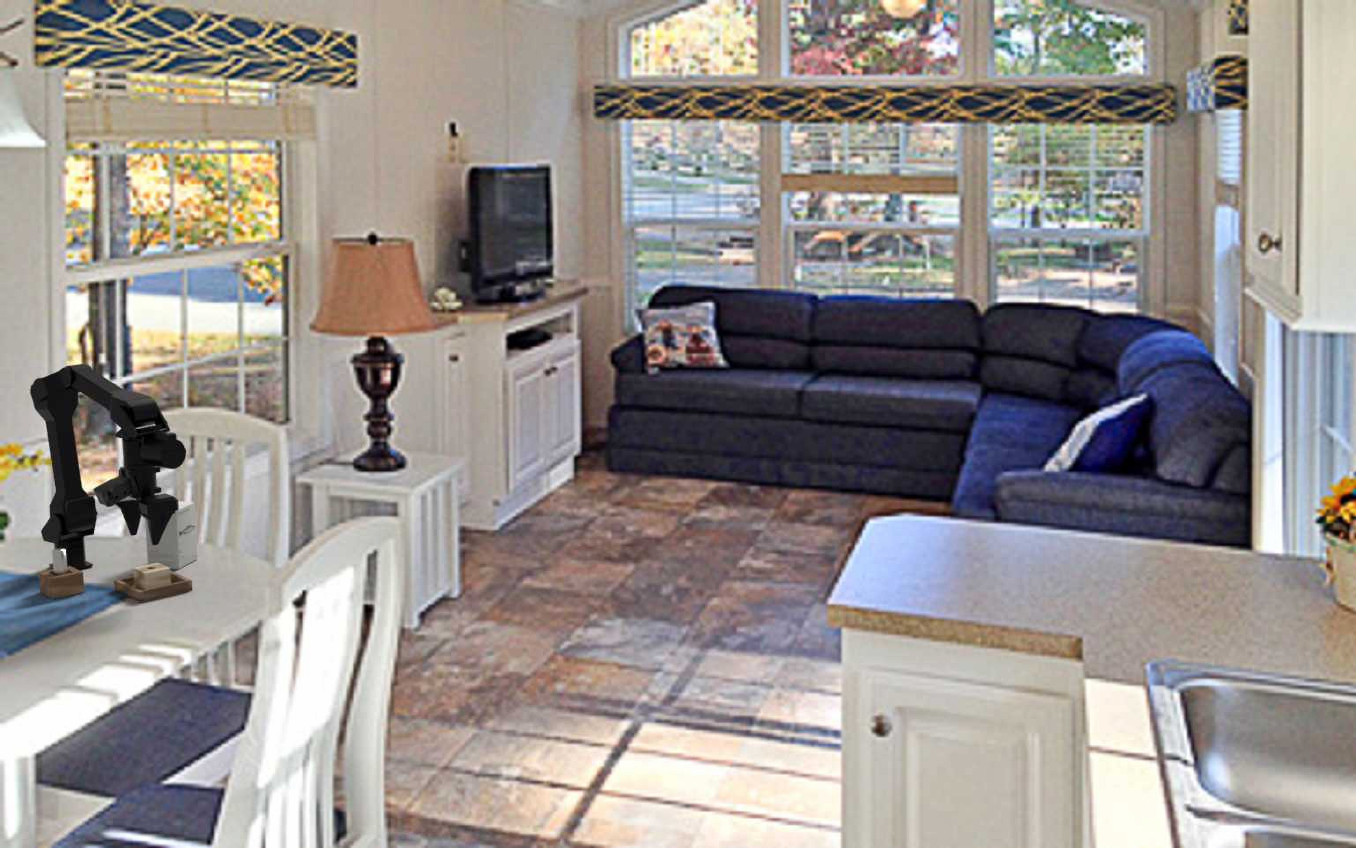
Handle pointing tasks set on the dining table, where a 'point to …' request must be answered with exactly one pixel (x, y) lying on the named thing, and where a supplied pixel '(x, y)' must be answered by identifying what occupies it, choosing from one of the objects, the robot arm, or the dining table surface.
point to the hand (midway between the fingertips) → (144, 540)
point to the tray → (176, 586)
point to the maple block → (151, 576)
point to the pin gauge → (59, 561)
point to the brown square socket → (61, 583)
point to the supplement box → (175, 539)
